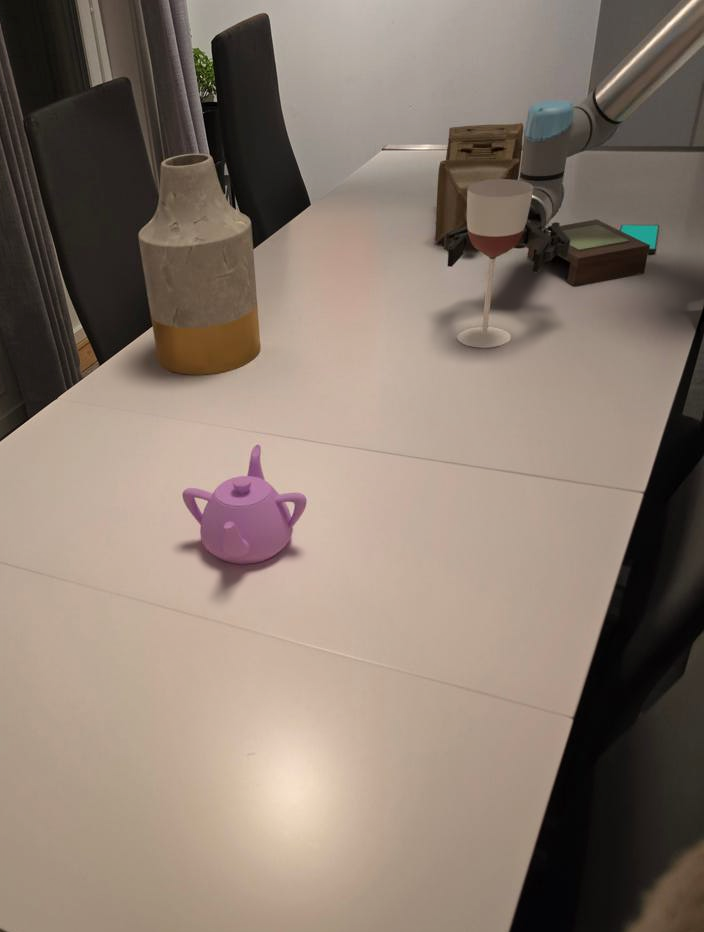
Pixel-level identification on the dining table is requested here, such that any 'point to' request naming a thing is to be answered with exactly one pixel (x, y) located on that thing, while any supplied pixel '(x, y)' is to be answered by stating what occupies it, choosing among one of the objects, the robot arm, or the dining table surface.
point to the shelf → (600, 253)
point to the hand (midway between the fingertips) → (492, 260)
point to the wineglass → (494, 239)
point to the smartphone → (643, 234)
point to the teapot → (245, 516)
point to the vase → (199, 272)
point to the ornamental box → (474, 168)
